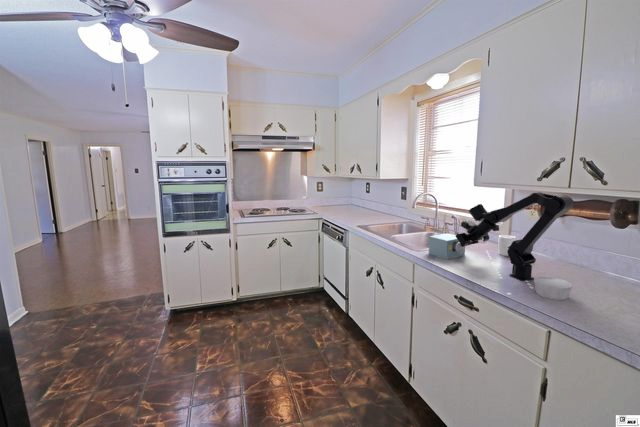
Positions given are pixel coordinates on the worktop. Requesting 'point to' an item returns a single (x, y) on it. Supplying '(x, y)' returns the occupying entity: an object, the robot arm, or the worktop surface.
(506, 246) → the white cup
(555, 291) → the ramekin
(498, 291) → the worktop surface
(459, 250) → the plug
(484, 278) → the worktop surface
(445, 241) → the socket block
